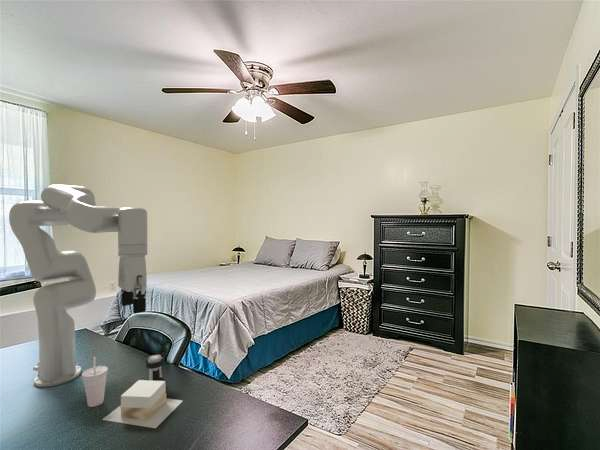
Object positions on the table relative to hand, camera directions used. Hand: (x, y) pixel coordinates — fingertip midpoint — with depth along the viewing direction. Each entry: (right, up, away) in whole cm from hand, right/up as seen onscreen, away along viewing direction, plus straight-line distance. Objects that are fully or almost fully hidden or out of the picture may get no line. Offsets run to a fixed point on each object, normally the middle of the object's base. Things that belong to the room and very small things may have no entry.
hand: (133, 308), depth 91 cm
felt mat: (+6, -27, -5) cm, 28 cm away
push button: (+3, -27, +6) cm, 28 cm away
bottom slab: (+6, -26, -5) cm, 28 cm away
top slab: (+6, -24, -5) cm, 25 cm away
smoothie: (-10, -27, -2) cm, 29 cm away
